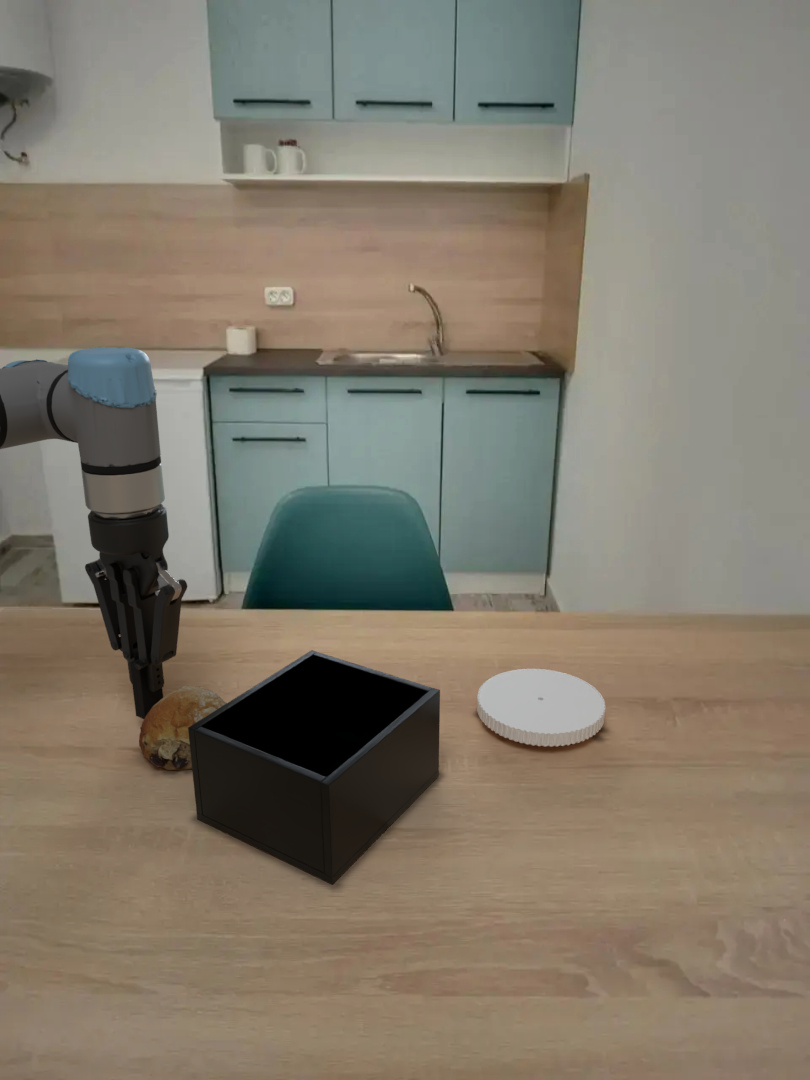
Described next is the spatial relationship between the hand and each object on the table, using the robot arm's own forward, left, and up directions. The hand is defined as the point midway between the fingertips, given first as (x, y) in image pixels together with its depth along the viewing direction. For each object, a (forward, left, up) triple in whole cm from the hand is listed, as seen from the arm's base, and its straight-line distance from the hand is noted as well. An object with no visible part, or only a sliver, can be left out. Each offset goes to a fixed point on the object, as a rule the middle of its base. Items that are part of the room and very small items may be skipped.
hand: (150, 712), depth 91 cm
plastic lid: (+36, +24, -2) cm, 43 cm away
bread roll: (+7, -1, -2) cm, 7 cm away
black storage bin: (+24, 0, -2) cm, 24 cm away
